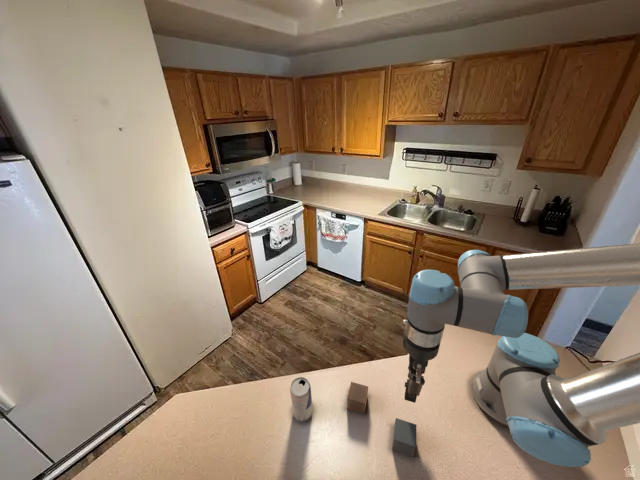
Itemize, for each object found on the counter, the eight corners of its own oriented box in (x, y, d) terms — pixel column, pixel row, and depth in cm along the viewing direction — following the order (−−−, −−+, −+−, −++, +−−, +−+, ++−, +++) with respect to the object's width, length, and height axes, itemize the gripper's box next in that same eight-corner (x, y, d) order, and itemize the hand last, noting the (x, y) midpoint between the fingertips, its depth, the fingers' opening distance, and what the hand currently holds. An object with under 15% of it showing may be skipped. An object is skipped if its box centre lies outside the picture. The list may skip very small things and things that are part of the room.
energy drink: (315, 406, 73) (313, 380, 68) (307, 425, 69) (304, 400, 63) (299, 399, 75) (296, 373, 70) (290, 417, 71) (285, 391, 66)
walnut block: (367, 396, 75) (368, 386, 73) (364, 414, 71) (365, 403, 69) (350, 391, 77) (351, 381, 74) (346, 408, 73) (347, 398, 70)
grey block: (413, 434, 67) (416, 424, 64) (412, 457, 62) (415, 447, 60) (393, 428, 68) (395, 417, 66) (391, 449, 64) (393, 439, 62)
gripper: (405, 311, 63) (396, 372, 74) (402, 355, 52) (393, 419, 63) (438, 317, 61) (424, 379, 72) (443, 365, 50) (426, 429, 61)
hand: (410, 398), depth 67 cm, fingers closed
